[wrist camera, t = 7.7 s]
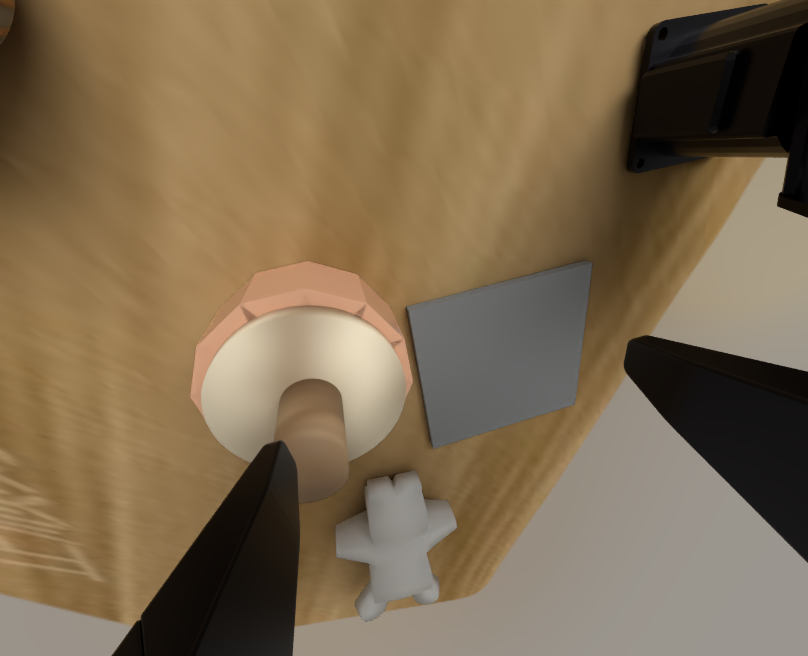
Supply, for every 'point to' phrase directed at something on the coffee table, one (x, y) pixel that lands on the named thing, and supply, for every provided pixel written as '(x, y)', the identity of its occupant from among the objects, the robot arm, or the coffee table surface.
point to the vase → (6, 17)
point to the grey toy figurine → (395, 542)
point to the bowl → (296, 289)
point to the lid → (305, 391)
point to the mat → (500, 351)
